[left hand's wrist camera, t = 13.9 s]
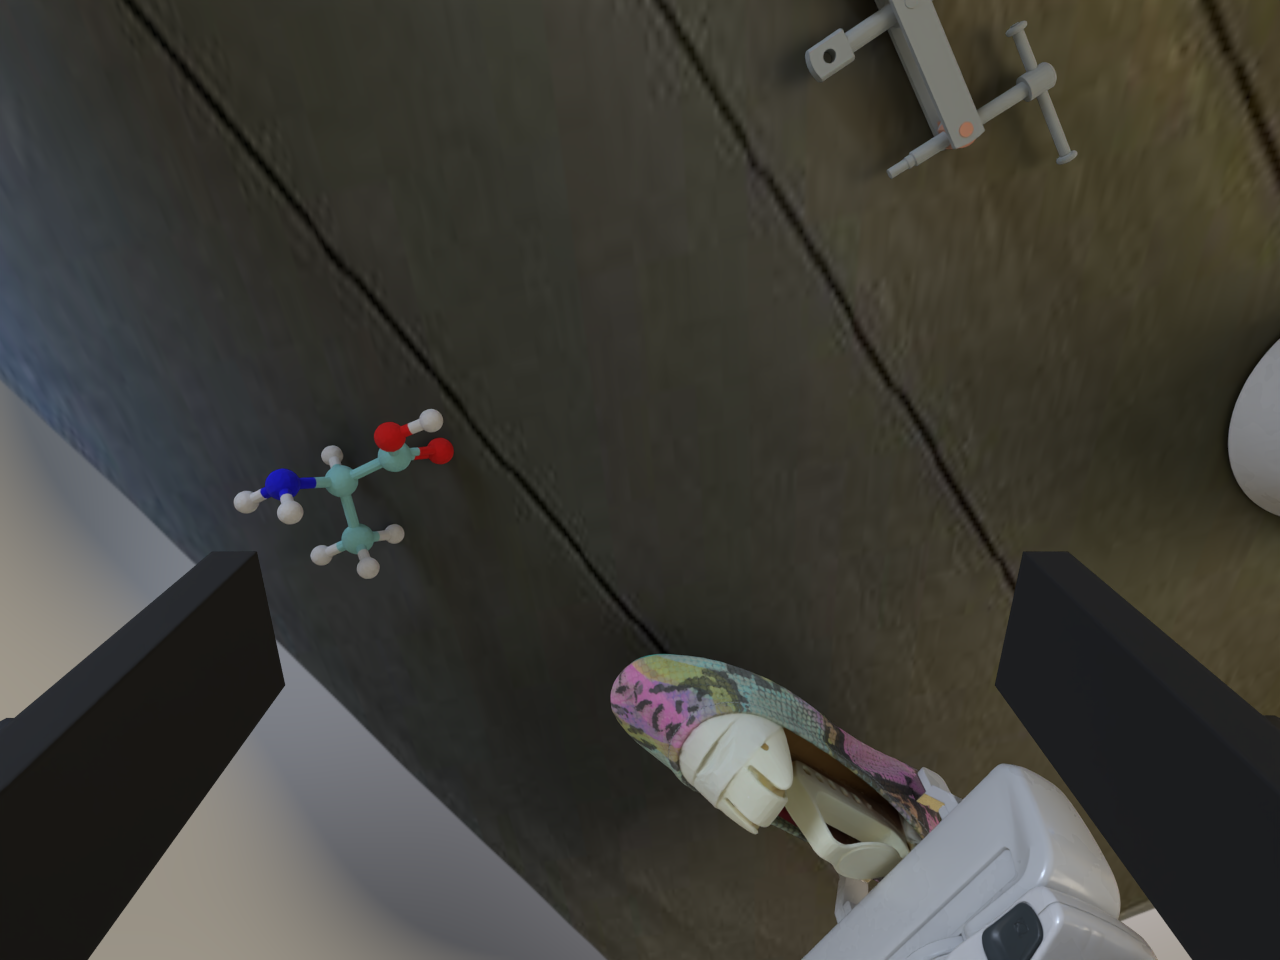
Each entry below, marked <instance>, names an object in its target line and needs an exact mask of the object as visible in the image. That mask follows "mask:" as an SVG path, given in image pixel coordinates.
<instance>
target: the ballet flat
mask: <svg viewBox="0 0 1280 960" xmlns="http://www.w3.org/2000/svg"><path fill="white" fill-rule="evenodd" d="M611 707H612V711H613V713H614V715H615V717H616V718H617V720H618V722H619V723H620V724H621V726H622V727H623V728H624V729H625V731H626V732H627V733H628V734H629V735H630V736H631V737H632V738H633V739H634V740H635V741H636V742H637V743H638V744H639V745H641V746H642V747H643V748H644V749H646V750H647V751H648V752H649V753H651V754H652V755H653V756H654V757H656V758H657V759H658V760H660V761H661V762H662V763H663V764H665V765H666V766H667V767H669V768H670V769H671V770H672V771H673V772H674V774H675V775H676V776H677V778H678V779H679V780H680V781H681V782H682V783H683V784H685V785H686V786H687V787H689V788H690V789H692V790H694V791H696V792H698V793H701V794H702V795H703V796H704V797H705V798H706V799H707V800H708V801H709V802H710V803H711V804H712V805H713V806H714V807H715V808H718V809H720V810H721V811H722V812H724V813H725V814H726V815H727V816H728V817H729V818H731V819H732V820H733V821H735V822H736V823H737V824H739V825H740V826H741V827H743V828H744V829H746V830H747V831H749V832H751V833H753V834H757V833H758V828H759V826H761V827H767V826H769V825H770V824H771V825H774V826H776V827H778V828H781V829H782V830H784V831H786V832H788V833H790V834H792V835H794V836H796V837H798V838H800V839H802V840H804V841H806V842H808V843H809V844H810V845H811V847H812V848H813V850H814V851H815V852H816V853H817V854H818V855H819V856H820V857H821V858H823V859H824V860H826V861H828V862H830V863H831V864H832V865H833V867H834V868H835V870H836V871H837V873H839V874H840V875H842V876H845V877H848V878H853V879H873V880H875V881H877V882H880V881H881V880H882V879H883V878H884V877H885V876H886V875H887V874H888V873H889V872H890V871H891V870H892V869H893V868H894V867H895V866H896V865H897V864H898V863H899V862H900V861H901V860H902V859H903V858H905V857H906V856H907V855H908V854H909V853H910V852H911V851H912V850H913V849H914V848H915V847H916V846H917V845H918V844H919V843H920V842H921V841H922V840H923V839H924V838H925V837H926V836H927V835H928V834H929V833H930V832H931V831H932V830H933V829H934V828H935V827H936V826H937V825H938V824H939V823H940V820H939V812H938V813H937V812H935V811H933V810H931V809H930V808H929V806H923V805H922V804H920V803H918V802H916V800H915V798H914V796H913V794H912V789H910V788H909V786H908V782H909V781H910V780H911V779H912V778H913V777H914V776H915V775H916V774H917V773H918V772H919V770H917V769H915V768H913V767H912V766H909V765H907V764H905V763H902V762H900V761H898V760H897V759H895V758H892V757H890V756H887V755H885V754H883V753H881V752H879V751H877V750H874V749H873V748H871V747H869V746H868V745H866V744H864V743H862V742H860V741H859V740H857V739H856V738H854V737H853V736H851V735H849V734H848V733H846V732H845V731H843V730H842V729H840V728H839V727H837V726H836V725H835V724H833V723H832V722H831V721H829V720H828V719H827V718H826V717H825V716H824V715H822V714H821V713H820V712H818V711H817V710H816V709H815V708H813V707H812V706H811V705H809V704H808V703H806V702H805V701H804V700H802V699H801V698H800V697H798V696H797V695H795V694H794V693H792V692H791V691H789V690H788V689H786V688H784V687H783V686H780V685H779V684H777V683H775V682H773V681H771V680H769V679H767V678H765V677H762V676H760V675H757V674H755V673H753V672H750V671H747V670H745V669H742V668H739V667H736V666H733V665H730V664H727V663H723V662H720V661H715V660H710V659H706V658H701V657H694V656H684V655H674V654H655V655H648V656H645V657H641V658H639V659H637V660H635V661H633V662H632V663H631V664H629V665H628V666H627V667H625V668H624V669H623V670H622V672H621V673H620V674H619V676H618V677H617V678H616V680H615V682H614V684H613V687H612V690H611Z"/></svg>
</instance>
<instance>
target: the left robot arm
mask: <svg viewBox="0 0 1280 960" xmlns="http://www.w3.org/2000/svg"><path fill="white" fill-rule="evenodd" d="M284 686H285V682H284V678H283V673H282V668H281V663H280V659H279V654H278V649H277V644H276V640H275V635H274V630H273V626H272V621H271V616H270V611H269V607H268V602H267V597H266V593H265V588H264V583H263V578H262V574H261V569H260V564H259V560H258V555H257V552H211V553H210V554H209V555H208V556H206V557H205V558H204V559H203V560H202V561H200V562H199V563H198V564H197V565H196V566H194V567H193V568H192V569H191V570H190V571H189V572H187V573H186V574H185V575H184V576H183V577H181V578H180V579H179V580H178V581H177V582H175V583H174V584H173V585H172V586H171V587H169V588H168V589H167V590H166V591H165V592H164V593H162V594H161V595H160V596H159V597H158V598H156V599H155V600H154V601H153V602H152V603H150V604H149V605H148V606H147V607H146V608H145V609H143V610H142V611H141V612H140V613H139V614H137V615H136V616H135V617H134V618H133V619H131V620H130V621H129V622H128V623H127V624H126V625H124V626H123V627H122V628H121V629H120V630H118V631H117V632H116V633H115V634H114V635H112V636H111V637H110V638H109V639H108V640H107V641H105V642H104V643H103V644H102V645H101V646H99V647H98V648H97V649H96V650H95V651H93V652H92V653H91V654H90V655H89V656H87V657H86V658H85V659H84V660H83V661H82V662H80V663H79V664H78V665H77V666H76V667H74V668H73V669H72V670H71V671H70V672H68V673H67V674H66V675H65V676H64V677H62V678H61V679H60V680H59V681H58V682H57V683H55V684H54V685H53V686H52V687H51V688H49V689H48V690H47V691H46V692H45V693H43V694H42V695H41V696H40V697H39V698H38V699H36V700H35V701H34V702H33V703H32V704H30V705H29V706H28V707H27V708H26V709H24V710H23V711H22V712H21V713H20V714H19V715H17V716H16V717H15V718H6V719H4V720H2V721H0V960H88V959H89V957H90V956H91V954H92V953H93V952H94V950H95V949H96V947H97V946H98V945H99V943H100V942H101V940H102V939H103V938H104V936H105V935H106V934H107V932H108V931H109V929H110V928H111V927H112V925H113V924H114V922H115V921H116V920H117V918H118V917H119V915H120V914H121V913H122V911H123V910H124V908H125V907H126V906H127V904H128V903H129V902H130V900H131V899H132V897H133V896H134V895H135V893H136V892H137V890H138V889H139V888H140V886H141V885H142V883H143V882H144V881H145V879H146V878H147V877H148V875H149V874H150V872H151V871H152V869H153V868H154V867H155V865H156V864H157V863H158V861H159V860H160V858H161V857H162V856H163V854H164V853H165V852H166V850H167V849H168V847H169V846H170V845H171V843H172V842H173V840H174V839H175V838H176V836H177V835H178V833H179V832H180V831H181V829H182V828H183V826H184V825H185V824H186V822H187V821H188V819H189V818H190V817H191V815H192V814H193V813H194V811H195V810H196V808H197V807H198V806H199V804H200V803H201V801H202V800H203V799H204V797H205V796H206V795H207V793H208V792H209V790H210V789H211V788H212V786H213V785H214V783H215V782H216V781H217V779H218V778H219V776H220V775H221V774H222V772H223V771H224V769H225V768H226V767H227V765H228V764H229V763H230V761H231V760H232V758H233V757H234V756H235V754H236V753H237V751H238V750H239V749H240V747H241V746H242V744H243V743H244V742H245V740H246V739H247V737H248V736H249V735H250V733H251V732H252V731H253V729H254V728H255V726H256V725H257V724H258V722H259V721H260V719H261V718H262V717H263V715H264V714H265V712H266V711H267V710H268V708H269V707H270V705H271V704H272V703H273V701H274V700H275V699H276V697H277V696H278V694H279V693H280V692H281V690H282V689H283V687H284ZM995 686H996V687H997V689H998V690H999V692H1000V693H1001V694H1002V696H1003V697H1004V699H1005V700H1006V701H1007V703H1008V704H1009V706H1010V707H1011V708H1012V710H1013V711H1014V712H1015V714H1016V715H1017V717H1018V718H1019V719H1020V721H1021V722H1022V724H1023V725H1024V726H1025V728H1026V729H1027V731H1028V732H1029V733H1030V735H1031V736H1032V738H1033V739H1034V740H1035V742H1036V743H1037V744H1038V746H1039V747H1040V749H1041V750H1042V751H1043V753H1044V754H1045V756H1046V757H1047V758H1048V760H1049V761H1050V763H1051V764H1052V765H1053V767H1054V768H1055V769H1056V771H1057V772H1058V774H1059V775H1060V776H1061V778H1062V779H1063V781H1064V782H1065V783H1066V785H1067V786H1068V788H1069V789H1070V790H1071V792H1072V793H1073V795H1074V796H1075V797H1076V799H1077V800H1078V801H1079V803H1080V804H1081V806H1082V807H1083V808H1084V810H1085V811H1086V813H1087V814H1088V815H1089V817H1090V818H1091V820H1092V821H1093V822H1094V824H1095V825H1096V826H1097V828H1098V829H1099V831H1100V832H1101V833H1102V835H1103V836H1104V838H1105V839H1106V840H1107V842H1108V843H1109V845H1110V846H1111V847H1112V849H1113V850H1114V852H1115V853H1116V854H1117V856H1118V857H1119V858H1120V860H1121V861H1122V863H1123V864H1124V865H1125V867H1126V868H1127V870H1128V871H1129V872H1130V874H1131V875H1132V877H1133V878H1134V879H1135V881H1136V882H1137V883H1138V885H1139V886H1140V888H1141V889H1142V890H1143V892H1144V893H1145V895H1146V896H1147V897H1148V899H1149V900H1150V902H1151V903H1152V904H1153V906H1154V907H1155V909H1156V910H1157V911H1158V913H1159V914H1160V915H1161V917H1162V918H1163V920H1164V921H1165V922H1166V924H1167V925H1168V927H1169V928H1170V929H1171V931H1172V932H1173V934H1174V935H1175V936H1176V938H1177V939H1178V940H1179V942H1180V943H1181V945H1182V946H1183V947H1184V949H1185V950H1186V952H1187V953H1188V954H1189V956H1190V957H1191V958H1192V960H1280V718H1278V717H1276V716H1263V715H1262V714H1260V713H1259V712H1258V711H1257V710H1256V709H1254V708H1253V707H1252V706H1251V705H1250V704H1248V703H1247V702H1246V701H1245V700H1244V699H1242V698H1241V697H1240V696H1239V695H1238V694H1237V693H1235V692H1234V691H1233V690H1232V689H1231V688H1229V687H1228V686H1227V685H1226V684H1225V683H1223V682H1222V681H1221V680H1220V679H1219V678H1218V677H1216V676H1215V675H1214V674H1213V673H1212V672H1210V671H1209V670H1208V669H1207V668H1206V667H1204V666H1203V665H1202V664H1201V663H1200V662H1198V661H1197V660H1196V659H1195V658H1194V657H1193V656H1191V655H1190V654H1189V653H1188V652H1187V651H1185V650H1184V649H1183V648H1182V647H1181V646H1179V645H1178V644H1177V643H1176V642H1175V641H1174V640H1172V639H1171V638H1170V637H1169V636H1168V635H1166V634H1165V633H1164V632H1163V631H1162V630H1160V629H1159V628H1158V627H1157V626H1156V625H1155V624H1153V623H1152V622H1151V621H1150V620H1149V619H1147V618H1146V617H1145V616H1144V615H1143V614H1141V613H1140V612H1139V611H1138V610H1137V609H1135V608H1134V607H1133V606H1132V605H1131V604H1130V603H1128V602H1127V601H1126V600H1125V599H1124V598H1122V597H1121V596H1120V595H1119V594H1118V593H1116V592H1115V591H1114V590H1113V589H1112V588H1111V587H1109V586H1108V585H1107V584H1106V583H1105V582H1103V581H1102V580H1101V579H1100V578H1099V577H1097V576H1096V575H1095V574H1094V573H1093V572H1091V571H1090V570H1089V569H1088V568H1087V567H1086V566H1084V565H1083V564H1082V563H1081V562H1080V561H1078V560H1077V559H1076V558H1075V557H1074V556H1072V555H1071V554H1070V553H1069V552H1023V555H1022V560H1021V564H1020V569H1019V574H1018V578H1017V583H1016V588H1015V593H1014V597H1013V602H1012V607H1011V611H1010V616H1009V621H1008V626H1007V630H1006V635H1005V640H1004V644H1003V649H1002V654H1001V659H1000V663H999V668H998V673H997V677H996V682H995Z"/></svg>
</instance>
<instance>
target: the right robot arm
mask: <svg viewBox="0 0 1280 960" xmlns="http://www.w3.org/2000/svg"><path fill="white" fill-rule="evenodd" d="M1228 453H1229V460H1230V464H1231V468H1232V471H1233V474H1234V476H1235V478H1236V481H1237V482H1238V484H1239V486H1240V487H1241V489H1242V490H1243V491H1244V493H1245V494H1246V495H1247V496H1248V497H1249V498H1250V499H1251V500H1252V501H1253V502H1254V503H1256V504H1257V505H1258V506H1260V507H1261V508H1263V509H1265V510H1266V511H1268V512H1270V513H1272V514H1275V515H1278V516H1280V339H1279V340H1278V341H1277V342H1276V343H1275V344H1274V345H1273V346H1272V347H1271V348H1270V349H1269V350H1268V351H1267V353H1266V354H1265V355H1264V356H1263V357H1262V359H1261V360H1260V361H1259V363H1258V364H1257V365H1256V367H1255V368H1254V370H1253V371H1252V373H1251V374H1250V376H1249V377H1248V379H1247V381H1246V383H1245V384H1244V386H1243V388H1242V390H1241V392H1240V394H1239V397H1238V399H1237V402H1236V404H1235V407H1234V410H1233V414H1232V417H1231V422H1230V427H1229V435H1228ZM908 786H909V788H910V789H912V794H913V796H914V798H915V800H916V802H918V803H920V804H922V805H923V806H929V808H930V809H931V810H933V811H935V812H937V813H938V812H939V814H940V816H941V818H942V821H941V822H940V823H939V824H938V825H937V826H936V827H935V828H934V829H933V830H932V831H931V832H930V833H929V834H928V835H927V836H926V837H925V838H924V839H923V840H922V841H921V842H920V843H919V844H918V845H917V846H916V847H915V848H914V849H913V850H912V851H911V852H910V853H909V854H908V855H907V856H906V857H905V858H903V859H902V860H901V861H900V862H899V863H898V864H897V865H896V866H895V867H894V868H893V869H892V870H891V871H890V872H889V873H888V874H887V875H886V876H885V877H884V878H883V879H882V880H881V881H880V882H879V883H878V884H877V885H876V886H875V887H874V888H873V889H872V890H871V891H870V892H869V893H868V883H869V881H870V880H871V879H853V878H848V877H845V876H842V875H840V874H839V873H838V874H839V878H840V880H839V883H838V891H837V899H836V906H835V916H836V919H837V923H838V924H837V925H836V926H835V927H834V928H833V929H832V930H831V931H830V932H829V933H828V934H827V935H826V936H825V937H824V938H823V939H822V940H821V941H820V942H819V943H818V944H817V945H816V946H815V947H814V948H813V949H812V950H811V951H810V952H809V953H808V954H807V955H806V956H805V957H804V958H803V959H802V960H1157V957H1156V956H1155V954H1154V952H1153V951H1152V949H1151V948H1150V946H1149V945H1148V944H1147V942H1146V941H1145V940H1144V939H1143V938H1142V937H1141V936H1140V935H1139V934H1137V933H1136V932H1135V931H1133V930H1132V929H1130V928H1129V927H1128V926H1126V925H1125V924H1124V923H1122V922H1120V921H1119V920H1118V918H1119V913H1120V895H1119V890H1118V886H1117V883H1116V880H1115V877H1114V875H1113V873H1112V871H1111V868H1110V867H1109V865H1108V863H1107V861H1106V859H1105V857H1104V855H1103V854H1102V852H1101V850H1100V848H1099V846H1098V845H1097V843H1096V841H1095V839H1094V838H1093V836H1092V834H1091V833H1090V831H1089V829H1088V828H1087V826H1086V825H1085V823H1084V821H1083V820H1082V818H1081V817H1080V815H1079V814H1078V812H1077V811H1076V809H1075V808H1074V807H1073V805H1072V804H1071V802H1070V801H1069V800H1068V798H1067V797H1066V796H1065V795H1064V793H1063V792H1062V791H1061V790H1060V789H1059V788H1057V787H1056V786H1055V785H1054V784H1052V783H1051V782H1049V781H1048V780H1046V779H1045V778H1043V777H1041V776H1040V775H1038V774H1036V773H1034V772H1032V771H1030V770H1028V769H1026V768H1024V767H1020V766H1016V765H1011V764H999V765H997V766H996V767H995V768H994V769H993V770H992V771H991V772H990V773H989V774H988V775H987V776H986V777H985V778H984V779H983V780H982V781H981V782H980V783H979V784H978V785H977V786H976V787H975V788H974V789H973V790H972V791H971V792H970V793H969V794H968V795H967V796H966V797H965V798H964V799H963V800H962V799H960V798H958V797H957V796H955V795H953V794H951V792H950V791H949V789H948V787H947V785H946V783H945V781H944V780H943V779H942V778H941V777H940V776H939V775H938V774H937V773H935V772H933V771H931V770H929V769H927V768H925V767H923V768H921V769H920V771H919V772H918V773H917V774H916V775H915V776H914V777H913V778H912V779H911V780H910V781H909V782H908Z"/></svg>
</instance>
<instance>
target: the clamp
mask: <svg viewBox="0 0 1280 960" xmlns="http://www.w3.org/2000/svg"><path fill="white" fill-rule="evenodd" d="M875 3H876V5H877V7H878V11H877V12H875V13H874V14H872V15H871V16H870V17H868V18H867V19H865V20H864V21H862V22H861V23H859V24H858V25H856V26H855V27H853V28H852V29H850V30H849V31H847V32H846V33H844V31H843V30H842V29H841V28H839V29H838V30H836V31H835V32H833V33H832V34H831V35H829V36H828V37H826V38H825V39H823V40H822V41H820V42H819V43H817V44H816V45H814V46H813V47H811V48H810V49H809V50H807V51H806V54H805V59H806V64H807V67H808V69H809V71H810V73H811V75H812V76H813V77H814V79H815V80H816V81H818V82H823V81H824V80H826V79H827V78H829V77H830V76H832V75H833V74H835V73H836V72H838V71H839V70H841V69H842V68H844V67H845V66H847V65H848V64H849V63H851V62H852V61H854V60H855V55H854V52H855V51H857V50H858V49H860V48H861V47H863V46H864V45H865V44H867V43H868V42H870V41H871V40H873V39H874V38H876V37H877V36H879V35H880V34H882V33H883V32H885V31H886V30H888V32H889V35H890V37H891V39H892V42H893V44H894V46H895V49H896V51H897V53H898V55H899V58H900V60H901V62H902V65H903V67H904V69H905V71H906V74H907V76H908V78H909V81H910V83H911V85H912V87H913V90H914V92H915V94H916V97H917V99H918V101H919V104H920V106H921V108H922V110H923V113H924V115H925V117H926V120H927V122H928V124H929V126H930V129H931V131H932V133H933V136H934V137H933V138H932V139H930V140H929V141H927V142H926V143H924V144H922V145H921V146H919V147H918V148H916V149H914V150H913V151H911V152H910V153H909V155H908V156H906V157H905V158H903V160H902V161H900V162H899V163H897V164H895V165H894V166H892V167H891V168H889V169H888V170H887V174H888V176H889V177H890V178H891V179H892V178H894V177H895V176H897V175H898V174H900V173H902V172H903V171H905V170H906V169H910V168H911V167H913V166H918V165H919V164H921V163H922V162H924V161H926V160H927V159H929V158H930V157H932V156H933V155H935V154H937V153H938V152H940V151H943V150H946V149H957V148H964V147H967V146H969V145H970V144H972V143H973V142H974V140H975V139H976V138H977V137H979V136H980V135H981V134H982V133H983V132H984V131H985V129H984V127H983V124H984V123H986V122H988V121H989V120H991V119H992V118H994V117H996V116H997V115H999V114H1000V113H1002V112H1004V111H1005V110H1007V109H1008V108H1010V107H1012V106H1013V105H1015V104H1016V103H1018V102H1020V101H1021V100H1025V101H1027V102H1029V101H1031V100H1033V99H1034V98H1036V97H1037V100H1038V102H1039V105H1040V108H1041V110H1042V113H1043V115H1044V118H1045V120H1046V123H1047V125H1048V128H1049V130H1050V133H1051V135H1052V138H1053V141H1054V143H1055V146H1056V148H1057V151H1058V153H1059V156H1060V157H1059V158H1058V159H1057V160H1056V163H1057V164H1059V165H1060V164H1064V163H1068V162H1070V161H1071V160H1072V159H1074V158H1075V157H1076V156H1077V151H1075V150H1073V151H1071V150H1070V148H1069V145H1068V142H1067V140H1066V137H1065V135H1064V132H1063V130H1062V127H1061V124H1060V122H1059V119H1058V117H1057V114H1056V112H1055V109H1054V106H1053V104H1052V101H1051V99H1050V96H1049V93H1048V91H1047V90H1049V89H1050V88H1052V87H1053V86H1054V85H1055V83H1056V79H1057V76H1056V72H1055V69H1054V68H1053V66H1052V65H1051V64H1049V63H1046V62H1042V63H1041V64H1039V65H1037V63H1036V60H1035V57H1034V55H1033V52H1032V50H1031V47H1030V45H1029V42H1028V39H1027V37H1026V34H1025V32H1024V28H1025V27H1026V26H1027V21H1021V22H1020V23H1019V22H1017V23H1015V24H1014V25H1012V26H1011V28H1010V29H1008V30H1007V32H1006V36H1007V37H1011V36H1013V39H1014V42H1015V44H1016V47H1017V49H1018V52H1019V54H1020V57H1021V59H1022V62H1023V64H1024V67H1025V69H1026V73H1025V74H1023V75H1022V76H1020V77H1018V78H1017V81H1016V86H1014V87H1012V88H1011V89H1009V90H1008V91H1006V92H1005V93H1003V94H1001V95H1000V96H998V97H997V98H995V99H993V100H992V101H990V102H989V103H987V104H986V105H984V106H982V107H981V108H979V109H978V110H976V108H975V105H974V103H973V100H972V98H971V95H970V93H969V91H968V88H967V86H966V83H965V81H964V78H963V76H962V74H961V71H960V69H959V66H958V64H957V61H956V59H955V57H954V54H953V52H952V49H951V47H950V44H949V42H948V40H947V37H946V35H945V32H944V30H943V27H942V25H941V23H940V20H939V18H938V15H937V13H936V10H935V8H934V6H933V3H932V0H875ZM824 52H828V53H830V55H831V58H832V60H831V63H830V64H829V63H826V62H825V61H824V59H823V54H824Z"/></svg>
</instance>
